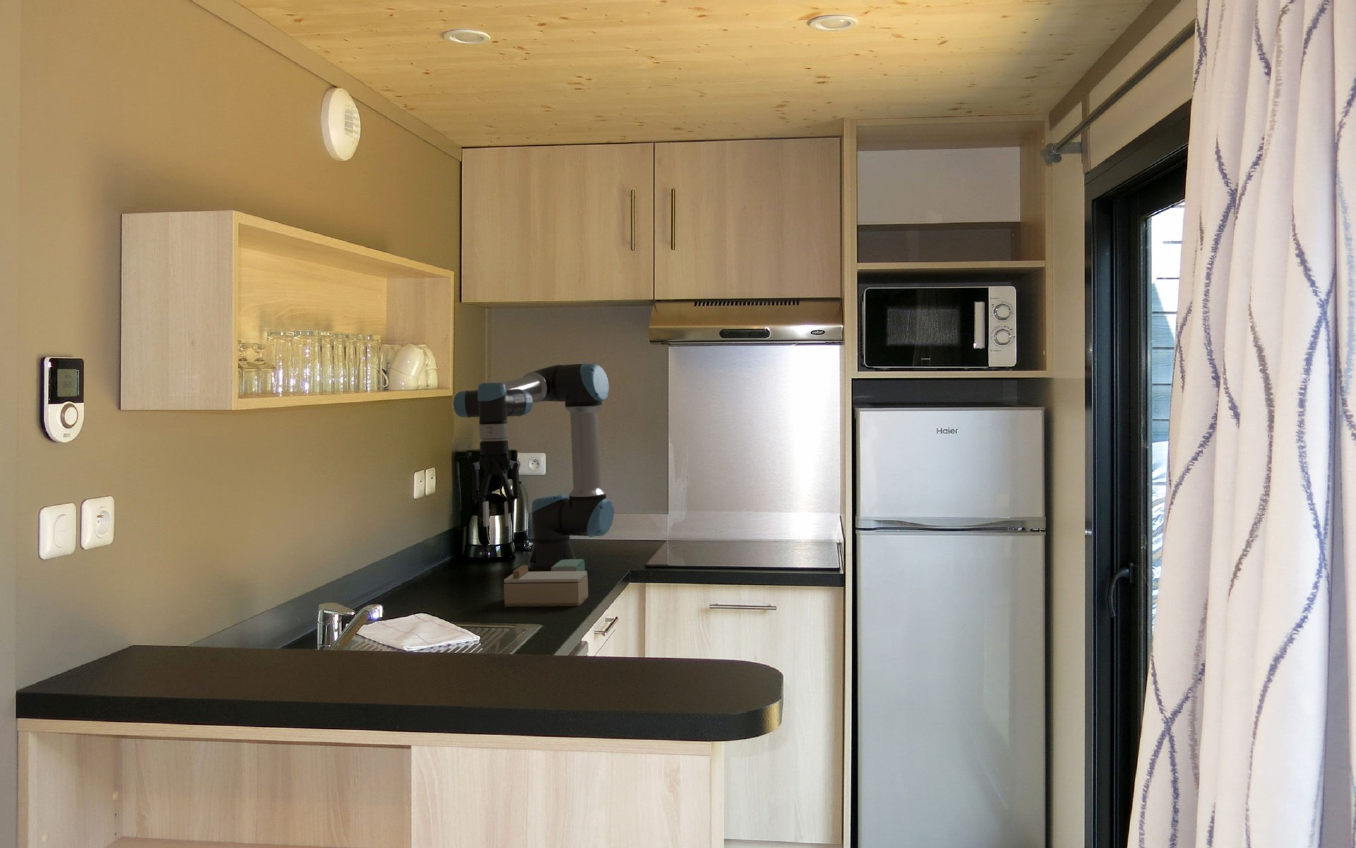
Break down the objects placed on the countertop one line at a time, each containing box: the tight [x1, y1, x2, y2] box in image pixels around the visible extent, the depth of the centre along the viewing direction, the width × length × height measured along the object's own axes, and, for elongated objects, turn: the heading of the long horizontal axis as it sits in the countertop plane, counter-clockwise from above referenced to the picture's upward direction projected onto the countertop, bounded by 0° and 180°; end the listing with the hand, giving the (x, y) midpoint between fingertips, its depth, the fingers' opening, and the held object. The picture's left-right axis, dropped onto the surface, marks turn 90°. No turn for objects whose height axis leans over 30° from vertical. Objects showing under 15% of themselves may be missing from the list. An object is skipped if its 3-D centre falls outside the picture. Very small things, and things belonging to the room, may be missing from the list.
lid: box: [503, 564, 588, 584], centre depth 274 cm, size 11×20×3 cm, turn 83°
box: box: [551, 558, 586, 571], centre depth 292 cm, size 7×14×8 cm, turn 175°
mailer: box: [503, 574, 589, 608], centre depth 274 cm, size 12×20×6 cm, turn 83°
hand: (497, 525), depth 275 cm, fingers open, 5 cm apart
